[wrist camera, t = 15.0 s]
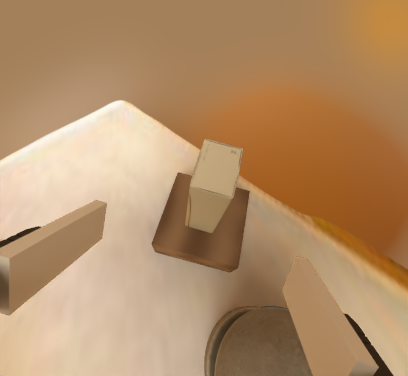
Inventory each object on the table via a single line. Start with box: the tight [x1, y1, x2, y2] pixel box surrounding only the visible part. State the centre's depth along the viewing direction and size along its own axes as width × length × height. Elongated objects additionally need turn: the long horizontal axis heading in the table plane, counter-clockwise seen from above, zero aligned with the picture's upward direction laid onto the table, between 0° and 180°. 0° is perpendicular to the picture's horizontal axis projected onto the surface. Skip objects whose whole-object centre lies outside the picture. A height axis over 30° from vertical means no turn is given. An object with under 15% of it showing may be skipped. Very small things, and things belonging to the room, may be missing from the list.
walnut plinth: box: [152, 173, 250, 272], centre depth 33 cm, size 12×12×5 cm
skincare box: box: [185, 139, 243, 233], centre depth 26 cm, size 6×4×12 cm
